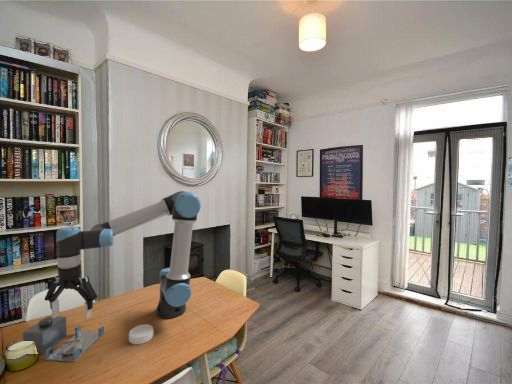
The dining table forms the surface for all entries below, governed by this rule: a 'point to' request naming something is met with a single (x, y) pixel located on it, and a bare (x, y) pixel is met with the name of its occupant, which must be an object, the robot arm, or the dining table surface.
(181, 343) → the dining table surface
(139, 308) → the dining table surface
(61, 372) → the dining table surface
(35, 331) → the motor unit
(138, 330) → the coaster
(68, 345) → the stone
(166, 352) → the dining table surface
